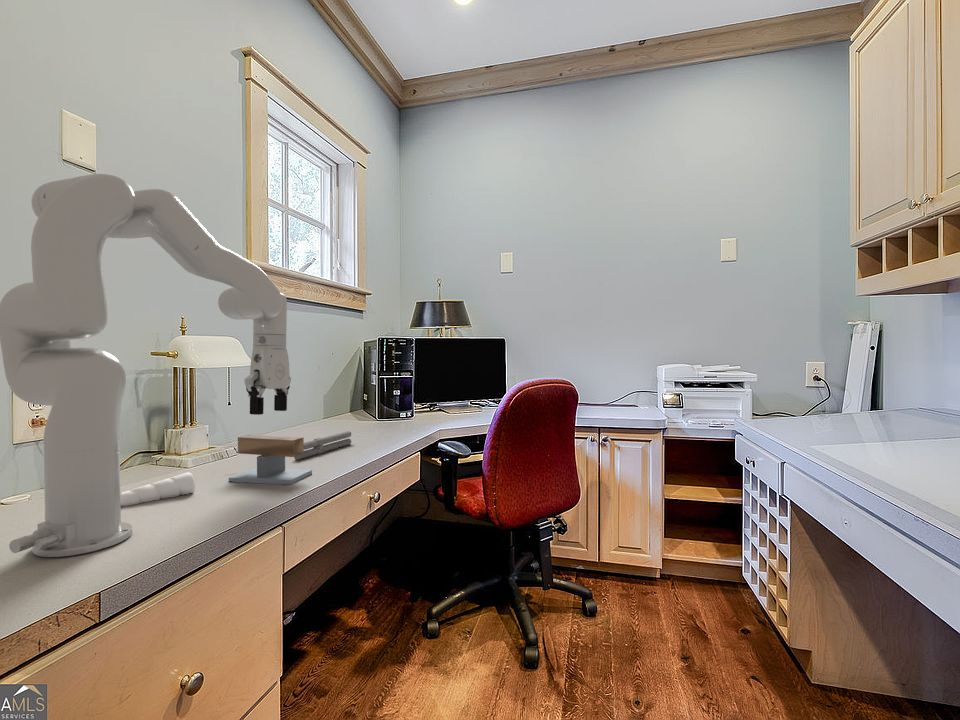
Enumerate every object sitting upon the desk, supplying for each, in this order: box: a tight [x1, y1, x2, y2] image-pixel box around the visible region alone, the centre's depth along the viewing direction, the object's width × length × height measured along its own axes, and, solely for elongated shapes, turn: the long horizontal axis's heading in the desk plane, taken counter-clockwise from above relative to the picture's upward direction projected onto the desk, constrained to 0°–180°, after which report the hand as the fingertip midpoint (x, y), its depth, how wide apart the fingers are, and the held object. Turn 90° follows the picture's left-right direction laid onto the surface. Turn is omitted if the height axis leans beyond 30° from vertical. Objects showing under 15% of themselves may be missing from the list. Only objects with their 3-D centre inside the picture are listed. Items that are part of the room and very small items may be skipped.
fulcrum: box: [228, 455, 313, 485], centre depth 119 cm, size 10×16×6 cm, turn 80°
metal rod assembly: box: [293, 430, 352, 461], centre depth 150 cm, size 26×3×5 cm, turn 160°
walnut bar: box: [237, 434, 305, 458], centre depth 119 cm, size 4×16×4 cm, turn 74°
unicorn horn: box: [120, 471, 196, 507], centre depth 99 cm, size 5×24×5 cm, turn 133°
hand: (269, 412), depth 118 cm, fingers open, 9 cm apart
